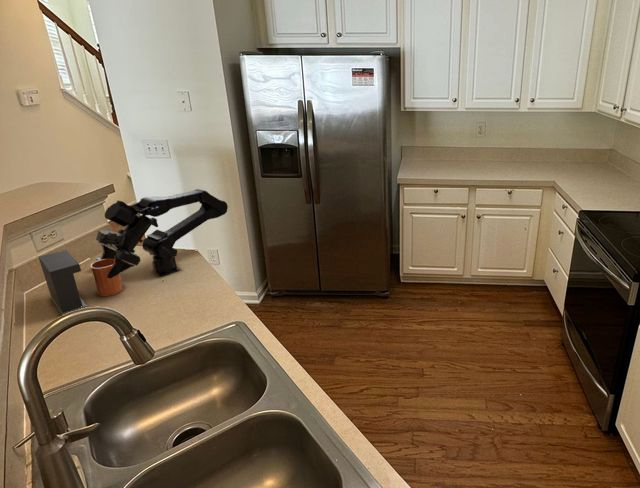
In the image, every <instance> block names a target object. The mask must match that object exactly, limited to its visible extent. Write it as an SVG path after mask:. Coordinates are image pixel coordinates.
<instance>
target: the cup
mask: <svg viewBox="0 0 640 488" xmlns="http://www.w3.org/2000/svg"><path fill="white" fill-rule="evenodd" d="M114 263H115V259H102V260H99V261H96V260H95V261H94V262H92V263H91V264H90V271H91V274H92V278H93V281H94V286H95V289H96V293H97V295H98V296H100V297H109V296H114V295H116V294H118V293H120V292H121V291H122V290H123V289H124V288H123V282H122V279H121V275H120V274H121V273H119V274H118V275H116V276H114V277H112V278H111V279H110V278H107V276H108V274H109V272H110V270H111V268H112V267H113V265H114Z"/></svg>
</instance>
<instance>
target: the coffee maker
mask: <svg viewBox="0 0 640 488" xmlns="http://www.w3.org/2000/svg"><path fill="white" fill-rule="evenodd" d="M38 261H39V263H40V266H41V269H42V273H43V277H44V280H45V282H46V285H47V288H48V291H49V295H50V297H51V300H52V301H53V303H54V305H55V306H56V308H57V309H58V310H59V312H60V314H61V315H62V316H63V314H66V313H68V312H71V311H75V310H78V309H81V308H85V307H87V308H88V305H87V304H86V303H85V301H84V300H83V299H82V298H81V295H80V292H79V289H78V285H77V282H76V281H77V280H76V278H75V274H77V273H80V272H82V268H81V265H80V263H79V261H78V260H77V259H75V258H74V256H73V255H72V254H71V253H70V252H69V250H67V249H63V250H60V251H59V250H58V251H55V252H52V253H48V254H43V255H39V256H38ZM81 306H82V307H81Z"/></svg>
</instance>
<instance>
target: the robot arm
mask: <svg viewBox="0 0 640 488" xmlns="http://www.w3.org/2000/svg"><path fill="white" fill-rule="evenodd" d="M195 203H199V204H200V205H201V206H199V209H198V210H196V211H195V212H194V213H192V214H190V215H189V216H187V217H185V218H184V219H182V220H181V221H179V222H178V223H177V224H175V225H173V226H172V227H170V228H168V229H167V230H165V231H163V230H160V229H155V230H154V231H153V232H151V233H150V234H146V233H147V232H148V230H149V229H150V228H151V226H153V227H155V228H158V227H159V224H158V219H157V218H158V217H160V216H162V215H165V214H167V213H168V212H169V211H170V210H172V209H176V208H180V207H184V206H187V205H191V204H195ZM228 208H229V207H228V203H227V202H226V201H225V200H222V199H219V198H217V197H216V196H214V195H212V194H210V193H209V192H208V191H207V190H204V189H200V188H196V189H194V190H190V191H189V190H188V191H186V192H180V193H176V194H171V195H168V196H144V197H142V198H140V200H139V201H137V202H135V203H132V204H130V205H128V204H127V203H126V202H124V201H122V200H119V199H118V200H117V201H116V202H115V203H112V204H111V205H110V206H108V207H107V208H106V210H105V212H104V218H105V219H106V220H108V221H110V222H112V223H115V224H117V225H119V226H121V227H125V228H120V229H119V230H118V231H112V230H105V229H98V231H97V235H96V238H95V240H96V241H98V243H99V244H100V246H101V247H102V251H103V252H102V255H101V257H100V258H101V260H102V259H115V263H114V265H113V267H112V268H111V270H110V272H109V274H108V276H107V278H110V279H111V278H112V277H114V276H116V275H118V274H121V273H123V272H125V271H127V270H129V269H130V268H134V267H135V266H136V267H138V266H139V264H141V261H142V260H141V257H140V256H139V255H138V254H136V250H135V248H136V247H137V246H138V244H139V243H141V244H142V250H144V251H145V252H147V253H148V254H149V255H150V256H152V261H151V265H152V271H153V272H154V273H155V274H156V275H158V276H159V277H164V276H167V275H170V274H174V273H176V272H179V271H180V268H179V267H178V266H177V259H176V257H177V255H178V249H176V248H174V246H175V244H176V242H177V241H179V240H180V239H182V238H183V237H184V236H186V235H188V234H189V233H190V232H192V231H194V230H195V229H196V228H198V227H200V226H201V225H203V224H204V223H205V222H207V221H209V220H213V219H218V218H220V217H222V216H224V215H226V214H227V212H228ZM138 214H140V215H138ZM148 216H150V217H148ZM145 235H146V237H145V238H144V239H143V237H144V236H145Z"/></svg>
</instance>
